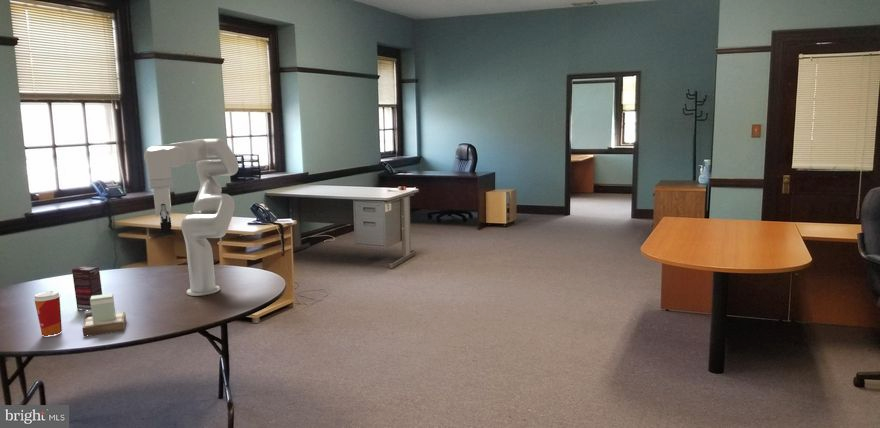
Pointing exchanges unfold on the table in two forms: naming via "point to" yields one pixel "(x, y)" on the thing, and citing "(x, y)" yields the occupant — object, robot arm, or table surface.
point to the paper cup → (49, 312)
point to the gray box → (88, 314)
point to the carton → (102, 307)
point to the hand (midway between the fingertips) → (166, 230)
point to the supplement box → (86, 285)
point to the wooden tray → (104, 325)
